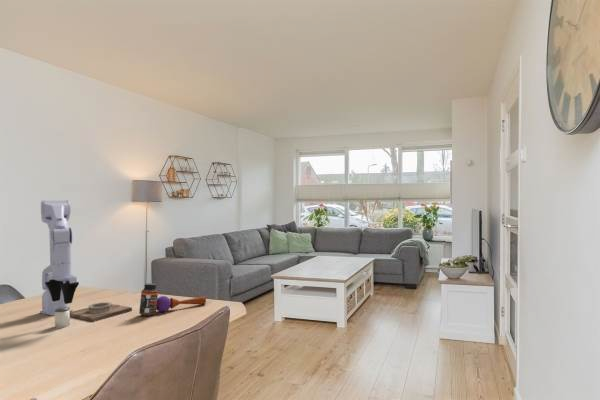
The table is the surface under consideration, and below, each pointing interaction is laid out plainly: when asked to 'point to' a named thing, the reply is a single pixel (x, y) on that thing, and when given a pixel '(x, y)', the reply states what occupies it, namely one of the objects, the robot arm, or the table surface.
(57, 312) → the plug
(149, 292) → the supplement bottle
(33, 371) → the table surface
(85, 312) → the board with ring socket
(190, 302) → the kendama
